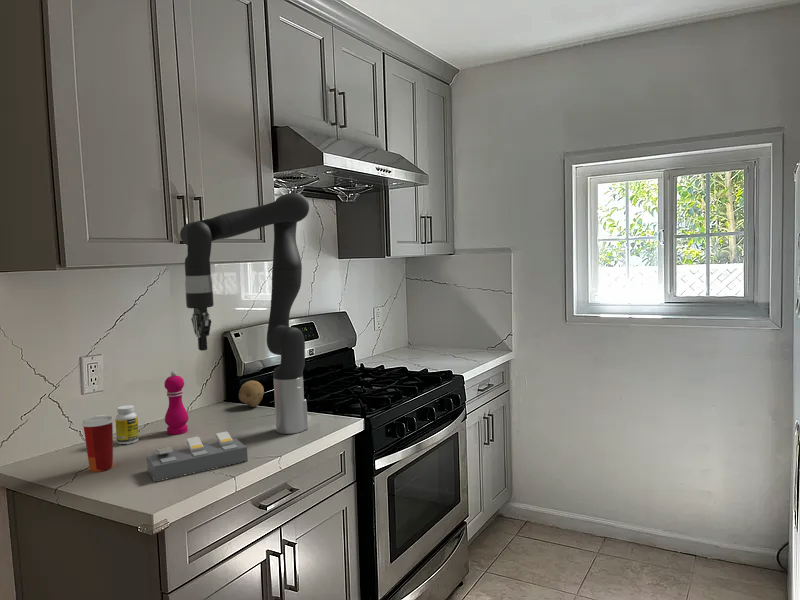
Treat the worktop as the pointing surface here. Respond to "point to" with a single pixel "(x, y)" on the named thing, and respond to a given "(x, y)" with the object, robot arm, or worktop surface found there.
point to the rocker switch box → (195, 459)
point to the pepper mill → (175, 405)
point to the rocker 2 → (224, 438)
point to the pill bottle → (126, 425)
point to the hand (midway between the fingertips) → (202, 350)
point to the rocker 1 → (164, 450)
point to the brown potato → (251, 393)
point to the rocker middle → (195, 444)
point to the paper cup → (99, 442)
